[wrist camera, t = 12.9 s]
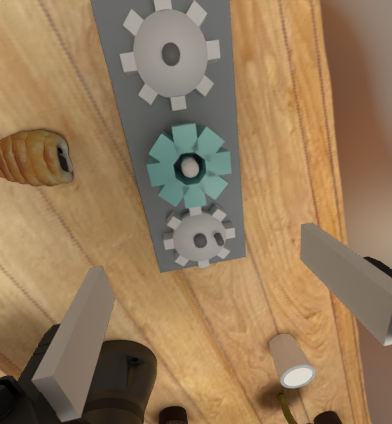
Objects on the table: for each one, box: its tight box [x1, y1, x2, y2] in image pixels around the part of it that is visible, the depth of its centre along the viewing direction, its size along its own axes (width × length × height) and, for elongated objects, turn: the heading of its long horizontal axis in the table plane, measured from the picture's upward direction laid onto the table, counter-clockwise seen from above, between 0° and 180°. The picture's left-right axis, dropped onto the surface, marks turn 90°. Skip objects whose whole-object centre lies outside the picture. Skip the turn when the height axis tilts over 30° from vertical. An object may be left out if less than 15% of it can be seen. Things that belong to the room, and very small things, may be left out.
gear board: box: [90, 0, 246, 273], centre depth 27 cm, size 14×34×8 cm, turn 8°
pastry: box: [0, 130, 73, 186], centre depth 27 cm, size 9×7×4 cm
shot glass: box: [269, 334, 316, 388], centre depth 45 cm, size 7×7×7 cm
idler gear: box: [147, 122, 231, 209], centre depth 27 cm, size 9×9×6 cm
